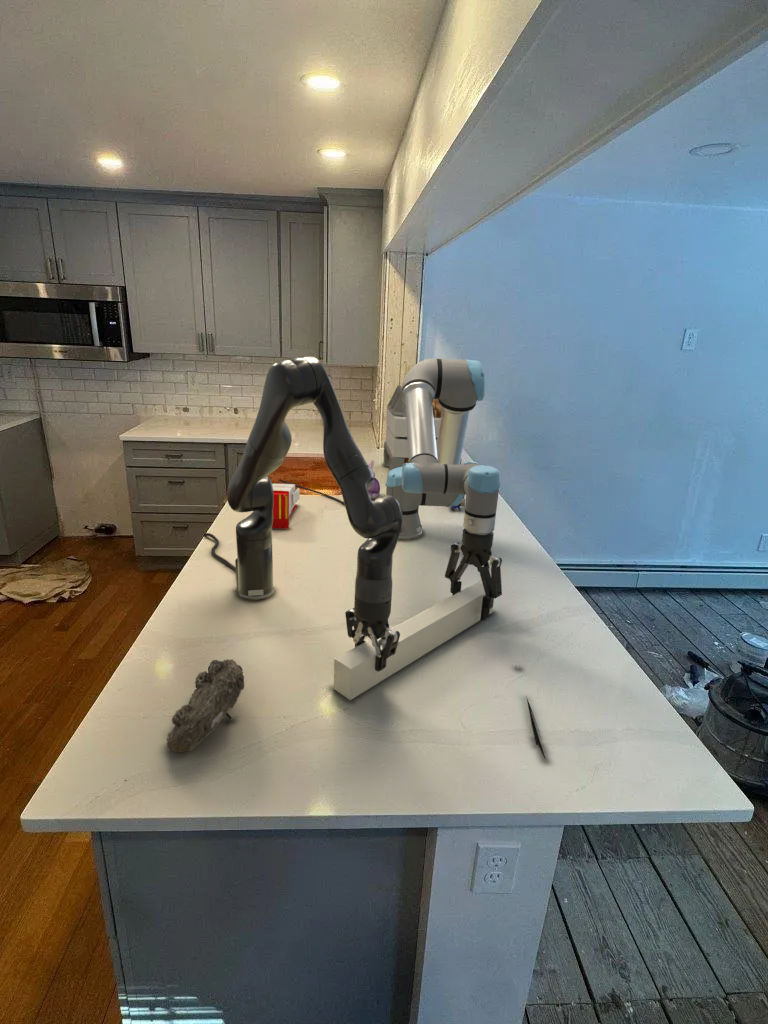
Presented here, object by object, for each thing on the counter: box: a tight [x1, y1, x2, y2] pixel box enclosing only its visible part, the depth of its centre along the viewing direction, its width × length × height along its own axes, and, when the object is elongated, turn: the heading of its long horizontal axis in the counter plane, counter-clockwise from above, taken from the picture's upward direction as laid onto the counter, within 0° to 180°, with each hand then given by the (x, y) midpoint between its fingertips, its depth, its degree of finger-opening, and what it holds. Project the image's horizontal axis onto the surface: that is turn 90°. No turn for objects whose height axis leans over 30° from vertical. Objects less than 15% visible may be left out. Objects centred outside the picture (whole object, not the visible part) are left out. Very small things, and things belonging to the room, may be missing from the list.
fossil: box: [166, 658, 245, 754], centre depth 106 cm, size 22×10×15 cm
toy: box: [272, 483, 301, 530], centre depth 210 cm, size 12×13×30 cm
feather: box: [517, 666, 549, 759], centre depth 114 cm, size 2×28×2 cm
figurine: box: [367, 460, 381, 499], centre depth 236 cm, size 9×10×15 cm
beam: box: [333, 580, 495, 701], centre depth 133 cm, size 52×5×8 cm, turn 137°
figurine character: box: [449, 494, 466, 511], centre depth 229 cm, size 7×8×15 cm
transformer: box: [383, 384, 463, 471], centre depth 268 cm, size 34×33×41 cm
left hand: (370, 663), depth 120 cm, fingers open, 5 cm apart
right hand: (469, 611), depth 146 cm, fingers open, 8 cm apart
